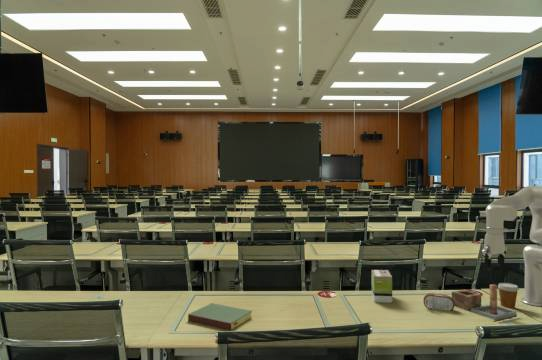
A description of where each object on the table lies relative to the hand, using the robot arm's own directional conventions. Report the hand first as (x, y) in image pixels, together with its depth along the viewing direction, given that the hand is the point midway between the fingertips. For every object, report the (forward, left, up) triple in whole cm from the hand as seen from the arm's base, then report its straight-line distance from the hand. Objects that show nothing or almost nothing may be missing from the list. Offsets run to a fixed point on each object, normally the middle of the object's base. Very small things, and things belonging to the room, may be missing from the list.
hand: (494, 265), depth 204 cm
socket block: (+4, -13, -25) cm, 28 cm away
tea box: (+33, -45, -25) cm, 61 cm away
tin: (+20, -16, -25) cm, 36 cm away
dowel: (0, 0, -24) cm, 24 cm away
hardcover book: (+126, -51, -26) cm, 138 cm away
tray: (0, 0, -25) cm, 25 cm away
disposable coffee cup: (-17, -4, -25) cm, 31 cm away
